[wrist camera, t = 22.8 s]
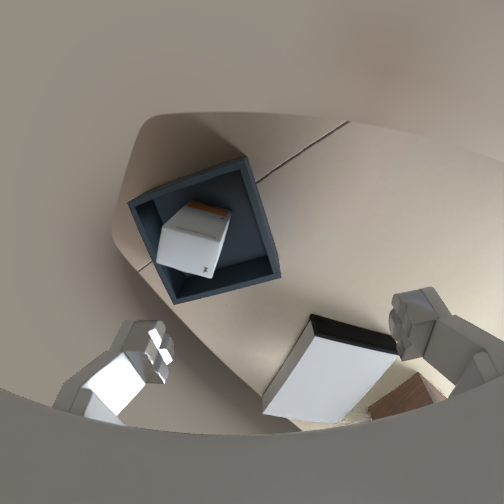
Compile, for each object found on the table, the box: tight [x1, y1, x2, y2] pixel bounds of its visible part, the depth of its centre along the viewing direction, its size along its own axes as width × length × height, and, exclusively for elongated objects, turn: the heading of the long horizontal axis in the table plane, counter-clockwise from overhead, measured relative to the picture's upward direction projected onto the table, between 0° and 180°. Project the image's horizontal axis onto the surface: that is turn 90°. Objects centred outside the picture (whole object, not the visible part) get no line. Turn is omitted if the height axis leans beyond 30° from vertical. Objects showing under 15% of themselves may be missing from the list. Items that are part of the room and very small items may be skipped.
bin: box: [127, 156, 281, 305], centre depth 36 cm, size 15×15×7 cm
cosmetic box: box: [156, 200, 232, 279], centre depth 33 cm, size 6×4×12 cm
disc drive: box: [262, 314, 399, 424], centre depth 48 cm, size 18×22×5 cm
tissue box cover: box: [369, 373, 447, 420], centre depth 52 cm, size 26×14×10 cm, turn 49°
